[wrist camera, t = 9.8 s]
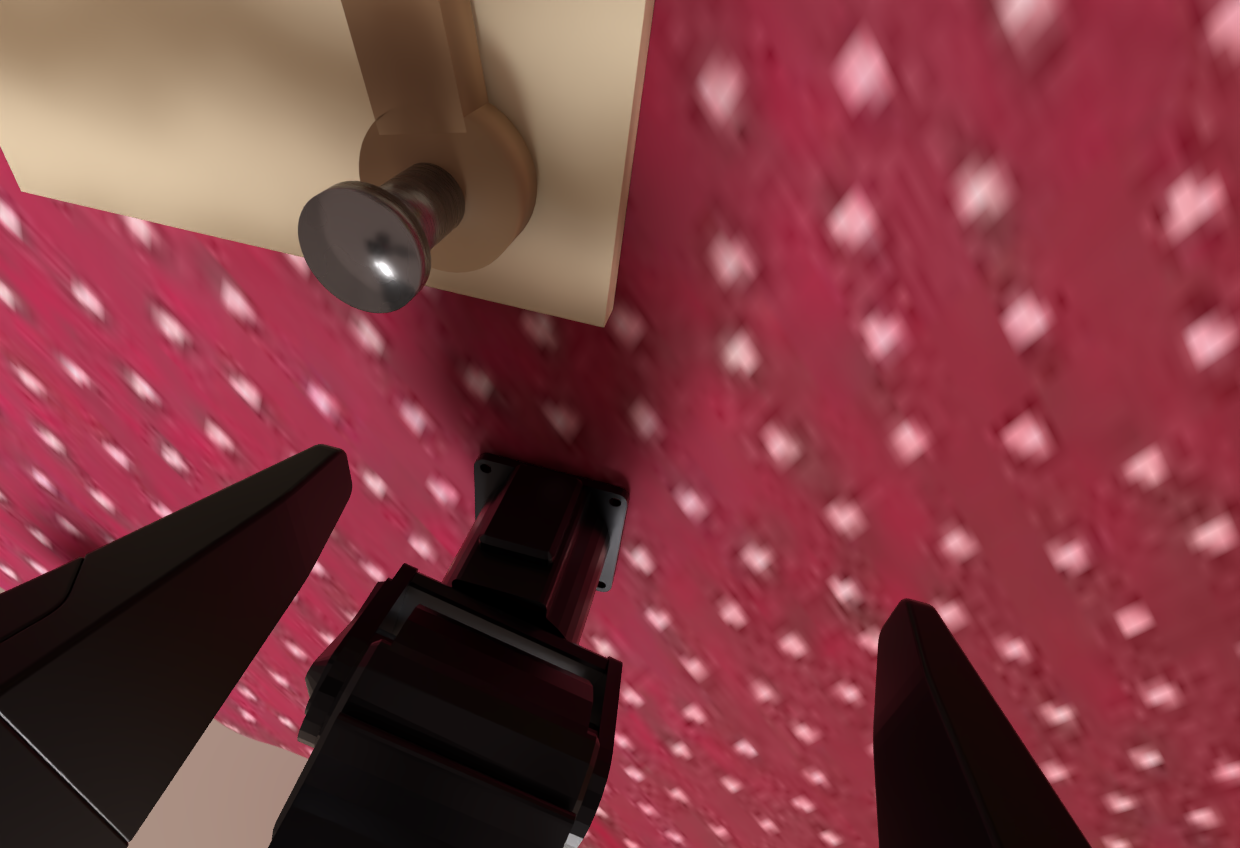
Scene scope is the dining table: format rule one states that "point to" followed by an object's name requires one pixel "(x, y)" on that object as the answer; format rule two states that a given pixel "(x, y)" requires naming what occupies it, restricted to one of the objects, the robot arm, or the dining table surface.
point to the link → (441, 121)
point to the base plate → (318, 122)
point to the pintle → (379, 235)
